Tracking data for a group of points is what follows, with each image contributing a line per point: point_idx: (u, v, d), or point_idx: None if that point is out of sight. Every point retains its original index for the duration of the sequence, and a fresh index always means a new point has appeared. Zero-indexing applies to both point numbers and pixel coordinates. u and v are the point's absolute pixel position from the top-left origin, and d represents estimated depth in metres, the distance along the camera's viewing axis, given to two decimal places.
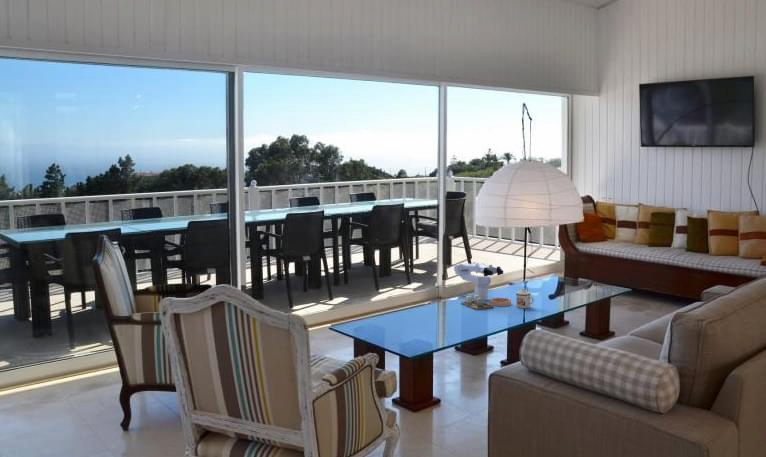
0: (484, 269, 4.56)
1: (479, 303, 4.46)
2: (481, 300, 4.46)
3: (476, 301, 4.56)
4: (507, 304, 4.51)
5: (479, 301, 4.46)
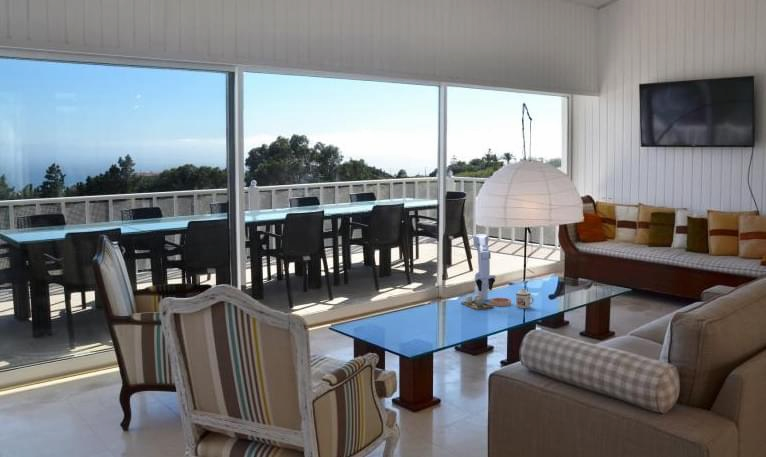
0: (478, 281, 4.51)
1: (479, 303, 4.46)
2: (481, 300, 4.46)
3: (476, 301, 4.56)
4: (507, 304, 4.51)
5: (479, 301, 4.46)
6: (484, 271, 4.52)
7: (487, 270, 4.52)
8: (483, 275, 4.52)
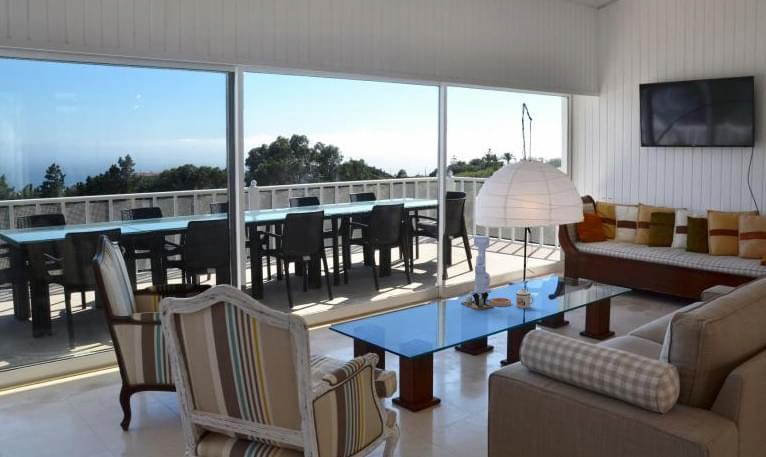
0: (475, 296, 4.44)
1: (479, 303, 4.46)
2: (481, 300, 4.46)
3: None
4: (507, 304, 4.51)
5: (479, 301, 4.46)
6: (479, 285, 4.44)
7: (482, 284, 4.44)
8: (478, 289, 4.45)
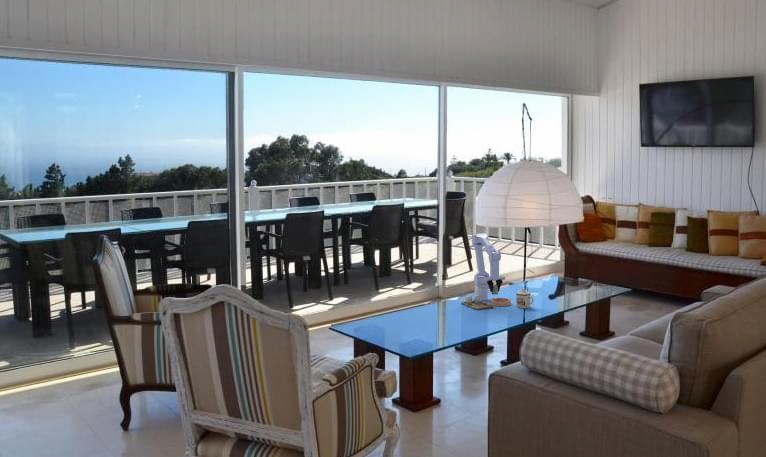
0: (490, 282, 4.49)
1: (493, 290, 4.51)
2: (495, 287, 4.51)
3: (476, 301, 4.56)
4: (507, 304, 4.51)
5: (493, 288, 4.51)
6: (493, 272, 4.49)
7: (497, 271, 4.49)
8: (492, 276, 4.50)
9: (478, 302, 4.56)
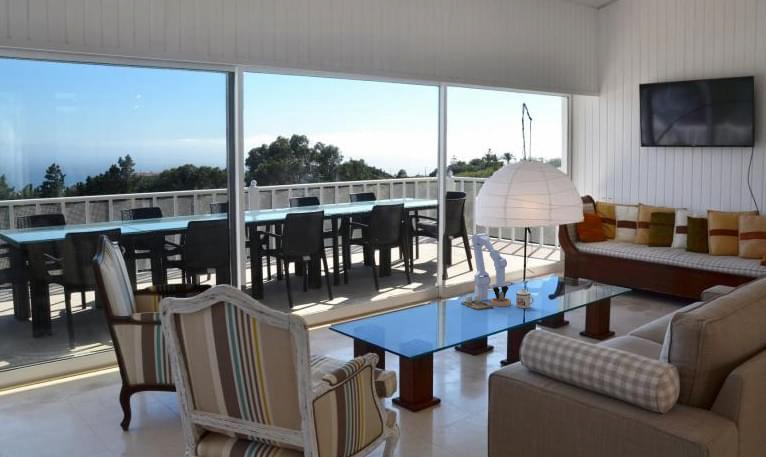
0: (496, 289, 4.52)
1: (499, 296, 4.54)
2: (501, 293, 4.54)
3: (476, 301, 4.56)
4: (507, 304, 4.51)
5: (499, 294, 4.54)
6: (499, 279, 4.52)
7: (502, 278, 4.52)
8: (498, 283, 4.52)
9: (478, 302, 4.56)
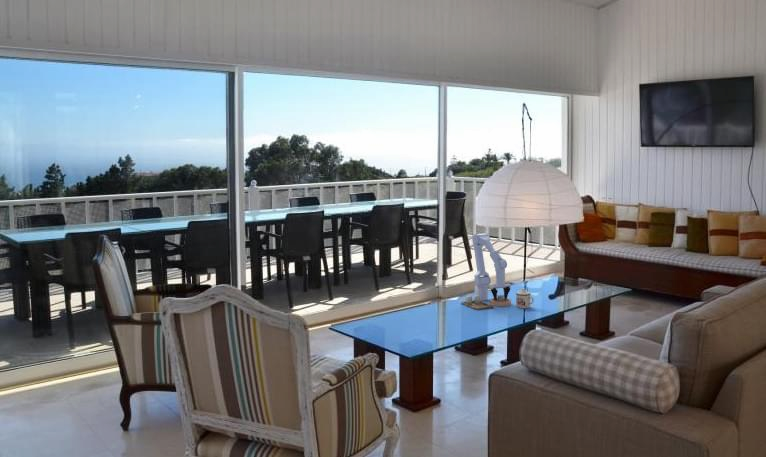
0: (493, 290, 4.51)
1: (499, 300, 4.54)
2: (501, 297, 4.54)
3: (476, 301, 4.56)
4: (507, 304, 4.51)
5: (499, 298, 4.54)
6: (499, 280, 4.52)
7: (502, 279, 4.52)
8: (498, 284, 4.52)
9: (478, 302, 4.56)
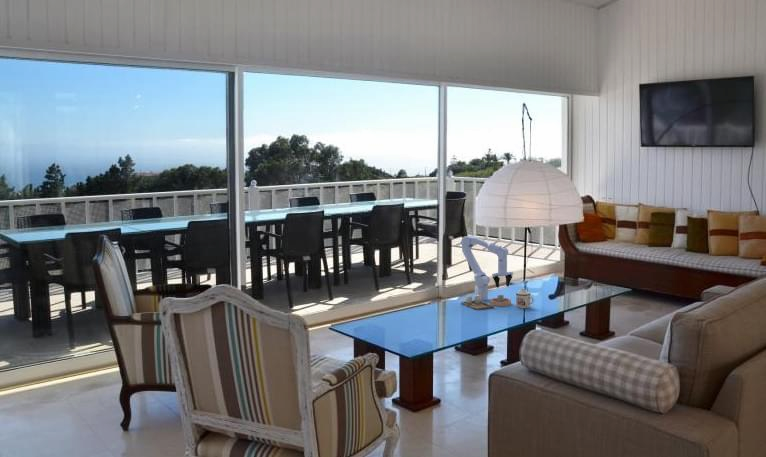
0: (496, 278, 4.59)
1: (499, 300, 4.54)
2: (501, 297, 4.54)
3: (476, 301, 4.56)
4: (507, 304, 4.51)
5: (499, 298, 4.54)
6: (501, 268, 4.60)
7: (504, 267, 4.60)
8: (500, 272, 4.60)
9: (478, 302, 4.56)
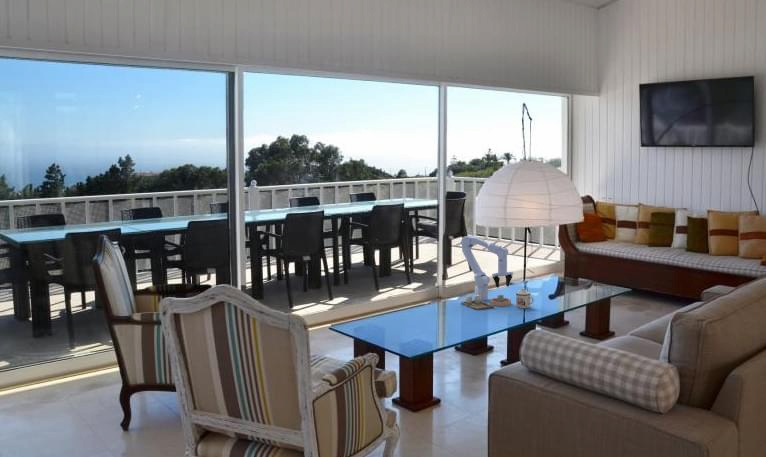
0: (496, 278, 4.59)
1: (499, 300, 4.54)
2: (501, 297, 4.54)
3: (476, 301, 4.56)
4: (507, 304, 4.51)
5: (499, 298, 4.54)
6: (501, 268, 4.60)
7: (504, 267, 4.60)
8: (500, 272, 4.60)
9: (478, 302, 4.56)
